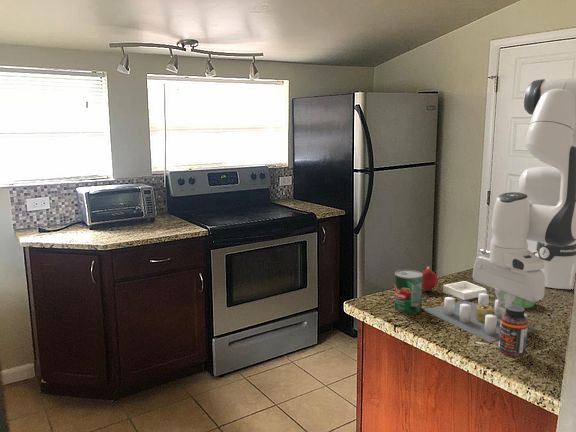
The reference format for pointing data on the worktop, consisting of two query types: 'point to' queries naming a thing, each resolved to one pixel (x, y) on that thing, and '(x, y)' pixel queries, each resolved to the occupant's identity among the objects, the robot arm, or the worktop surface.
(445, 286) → the ceramic dish
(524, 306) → the ramekin
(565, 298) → the worktop surface
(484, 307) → the tan faceted block
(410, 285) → the canned tomato
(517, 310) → the supplement bottle
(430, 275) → the pomegranate
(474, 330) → the mat
